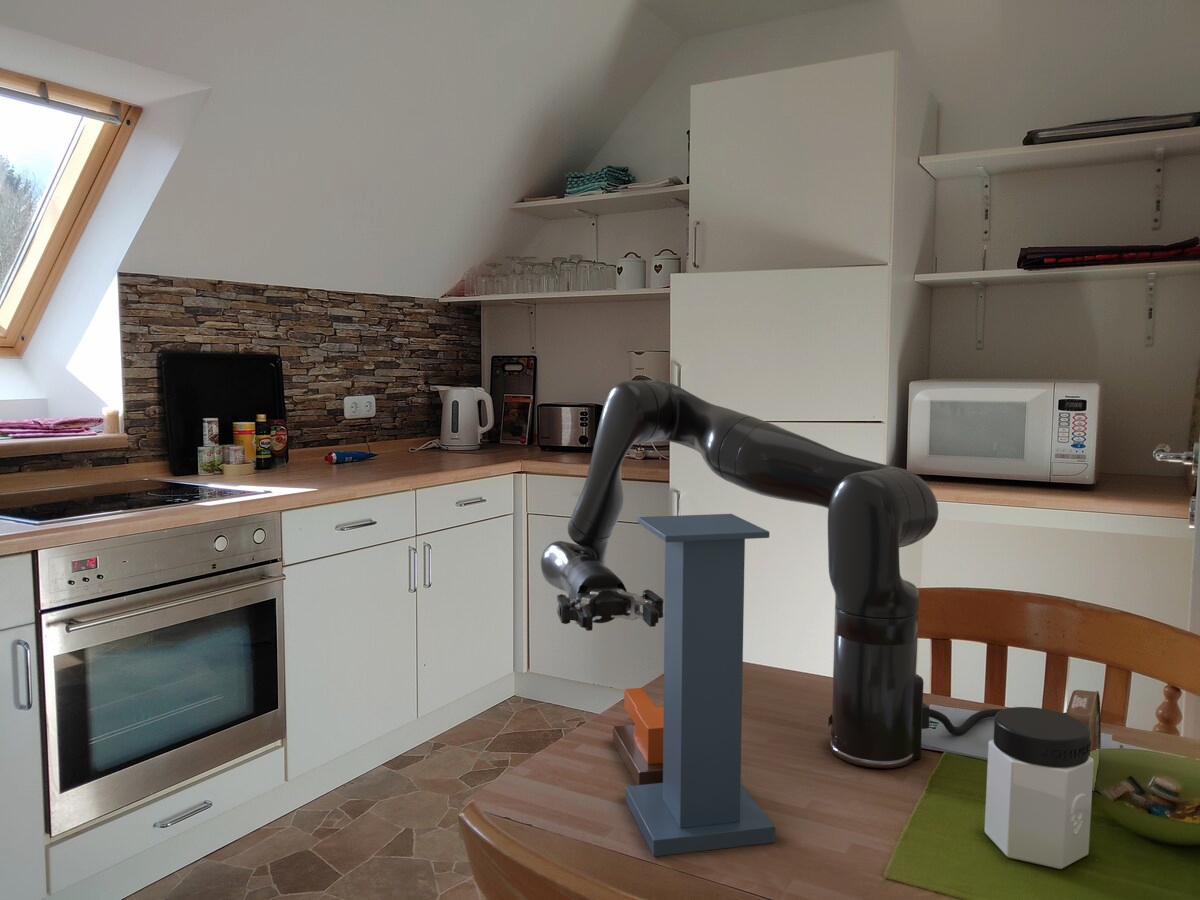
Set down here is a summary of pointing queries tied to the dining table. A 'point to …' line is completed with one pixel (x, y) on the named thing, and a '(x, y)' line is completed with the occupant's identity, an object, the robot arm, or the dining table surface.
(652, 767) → the pad
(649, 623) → the robot arm
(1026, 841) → the jar
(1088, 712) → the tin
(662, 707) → the orange toy mallet
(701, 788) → the stand
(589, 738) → the dining table surface
